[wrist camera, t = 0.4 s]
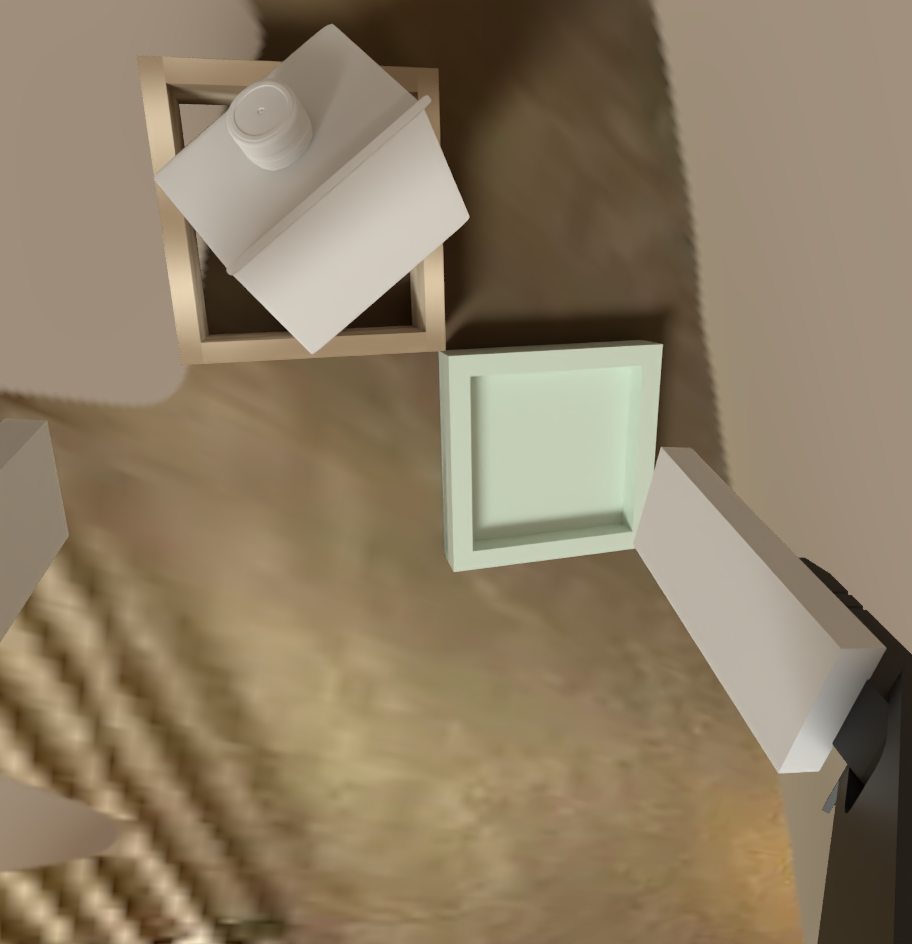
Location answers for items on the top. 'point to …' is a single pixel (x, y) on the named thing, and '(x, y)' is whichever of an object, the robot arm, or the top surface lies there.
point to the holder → (162, 95)
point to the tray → (546, 449)
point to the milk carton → (318, 187)
